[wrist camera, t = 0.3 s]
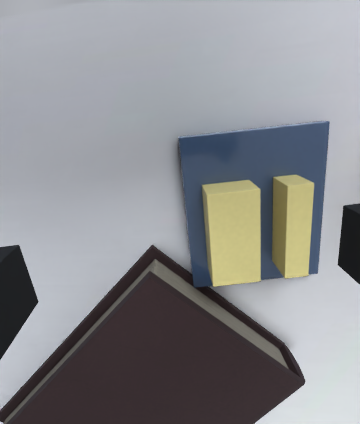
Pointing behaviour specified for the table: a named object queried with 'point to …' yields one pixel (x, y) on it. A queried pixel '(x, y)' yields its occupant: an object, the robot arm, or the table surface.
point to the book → (159, 359)
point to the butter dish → (252, 180)
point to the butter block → (232, 232)
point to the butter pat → (292, 224)
